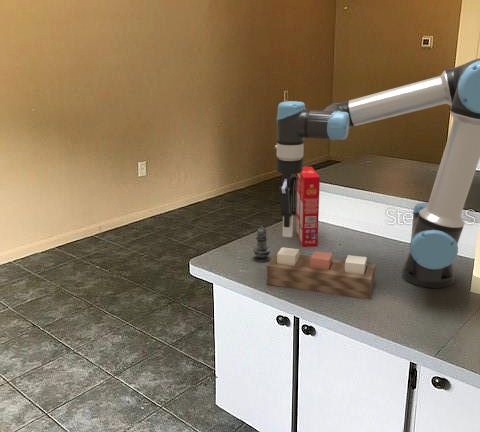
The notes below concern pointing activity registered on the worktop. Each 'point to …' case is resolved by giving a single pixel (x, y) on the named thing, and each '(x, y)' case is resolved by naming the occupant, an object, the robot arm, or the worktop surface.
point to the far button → (288, 256)
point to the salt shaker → (261, 246)
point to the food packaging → (307, 207)
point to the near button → (355, 264)
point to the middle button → (321, 260)
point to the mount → (321, 277)
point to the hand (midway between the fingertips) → (287, 235)
